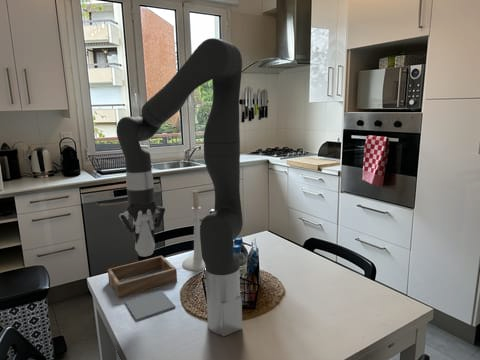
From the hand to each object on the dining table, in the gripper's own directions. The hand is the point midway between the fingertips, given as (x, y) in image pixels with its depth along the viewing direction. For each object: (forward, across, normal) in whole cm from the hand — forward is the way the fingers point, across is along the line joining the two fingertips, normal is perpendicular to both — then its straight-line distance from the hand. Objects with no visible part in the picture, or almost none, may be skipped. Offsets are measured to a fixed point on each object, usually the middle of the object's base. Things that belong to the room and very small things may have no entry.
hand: (144, 242), depth 104 cm
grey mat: (+21, 0, 0) cm, 21 cm away
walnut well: (+21, +3, +16) cm, 26 cm away
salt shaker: (+4, 0, 0) cm, 4 cm away
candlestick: (+21, +26, +18) cm, 38 cm away
